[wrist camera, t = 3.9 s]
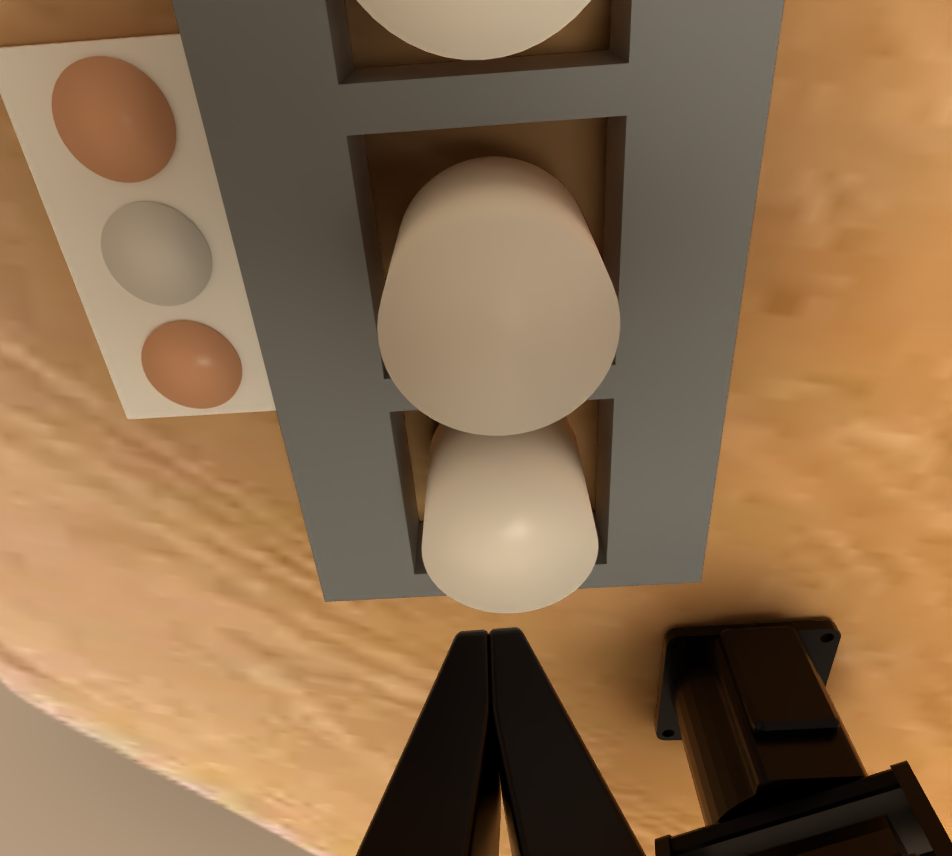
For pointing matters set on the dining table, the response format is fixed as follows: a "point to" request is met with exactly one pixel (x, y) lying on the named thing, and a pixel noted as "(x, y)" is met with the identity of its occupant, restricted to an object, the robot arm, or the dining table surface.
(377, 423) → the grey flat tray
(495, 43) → the button
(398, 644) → the dining table surface
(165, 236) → the card
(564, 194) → the button
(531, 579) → the button
